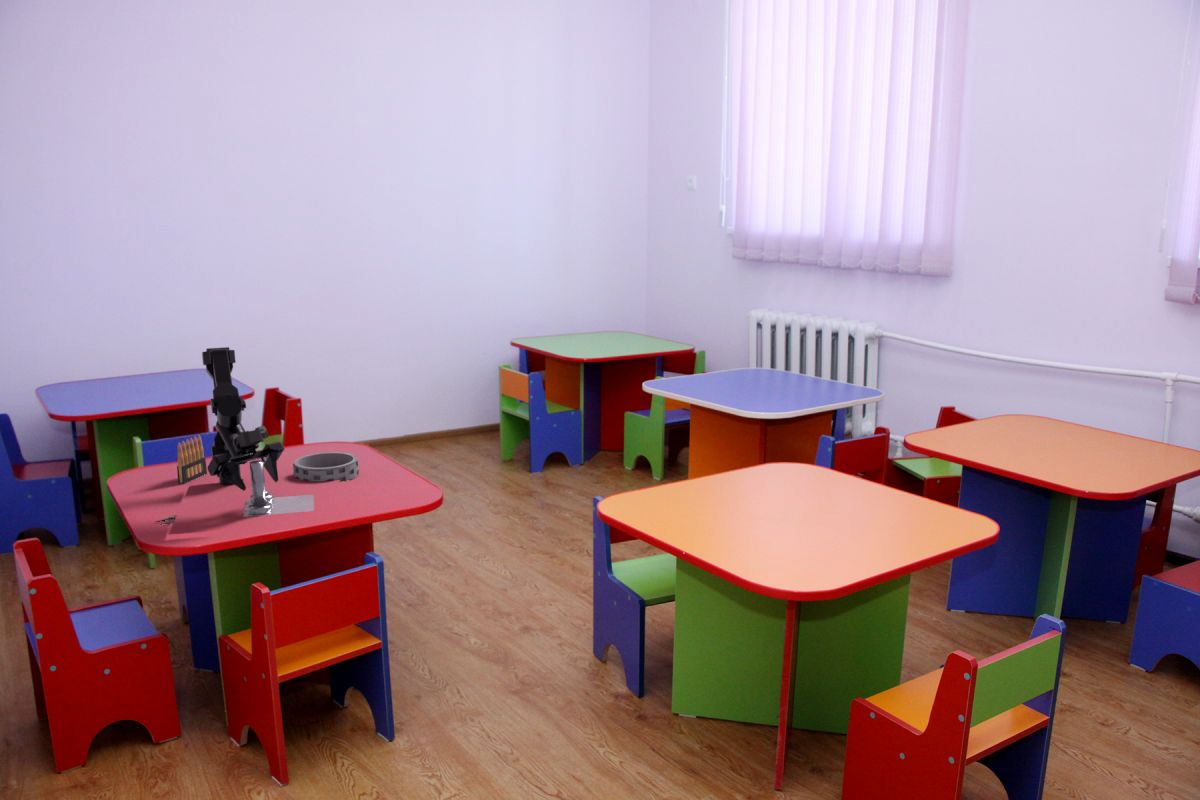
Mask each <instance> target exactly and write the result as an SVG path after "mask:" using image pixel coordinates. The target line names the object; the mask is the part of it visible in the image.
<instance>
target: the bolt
mask: <svg viewBox="0 0 1200 800" xmlns="http://www.w3.org/2000/svg"><path fill="white" fill-rule="evenodd" d="M263 465H264V462H263V461H262V460H259V459H255V460H251V461H249V472H250V473H249V474H250V484H251V485H250V486H251V495H252V498H253V504H251V505H249V506H248V511H249V514H251V515H261V516H264V515H263V514H267V513H270V512H271V511H272V504H271V503H267V502H266V492H265V490H266V481H265V480H266V479H265V470H264V468H265V467H264V466H263Z"/></svg>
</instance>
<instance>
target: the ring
mask: <svg viewBox="0 0 1200 800" xmlns="http://www.w3.org/2000/svg"><path fill="white" fill-rule="evenodd" d="M292 466H293V467H292V469H293V478H296V479H297V478H298V480H300V481H305V480H308V482H328V481H330V480H333V481H336V480H339V483H342V482H343V481H344V482H348V481H347V480H349V481H351V480H353V478H354V479H356V478H357V477H358V476H359V473H360V471H359V469H360V468H359V459H358V457H357V455H355V454H352V453H349V452H341V451H340V452H339V451H330V452H329V451H327V452H324V451H323V452H317V453H311V454H307V455H303V456H300V457H298V458H297V459H295V460H294V461H293V464H292ZM356 476H357V477H356Z"/></svg>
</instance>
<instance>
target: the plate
mask: <svg viewBox="0 0 1200 800" xmlns="http://www.w3.org/2000/svg"><path fill="white" fill-rule="evenodd" d="M270 503H271V504H272V511H271V512H270V513H267V514H263V515H251V514H249V511H248V506H249V505H251V504H252V503H251V499H246V502H245V505H244V510H243V514H242V518H248V517H259V516H261V517H262V516H271V515H272V516H273V515H282V514H283V515H285V514H294V513H296V514H297V513H303V512H304V513H305V512H314V511H315V505H314V504H315V497H314V494H303V495H291V496H290V495H288V496H278V497H273V501H272V502H270Z"/></svg>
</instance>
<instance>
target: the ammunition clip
mask: <svg viewBox="0 0 1200 800" xmlns="http://www.w3.org/2000/svg"><path fill="white" fill-rule="evenodd" d="M189 438H190V439H188V438H187V439H186V440H185V441H184V440H182V441H181V442H179V441H178V442H177V443H178V444H177V457H176V458H177V466H176V469H177V470H176V472H177V483H180V485H185V484H187V482H188V483H190V482H192V481H195V480H196V478H197V479H199V478H201V477H203V476H205V475H207V474H208V467H207V461H206V457H205V455H204V454H205V453H204V447H203V441H202V437H201V435H200V434H198V435H197V436H195V435H194V437H193V438H192V437H189ZM204 474H205V475H204ZM202 475H203V476H202ZM200 476H201V477H200ZM198 477H199V478H198ZM191 480H192V481H191ZM189 481H190V482H189Z"/></svg>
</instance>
